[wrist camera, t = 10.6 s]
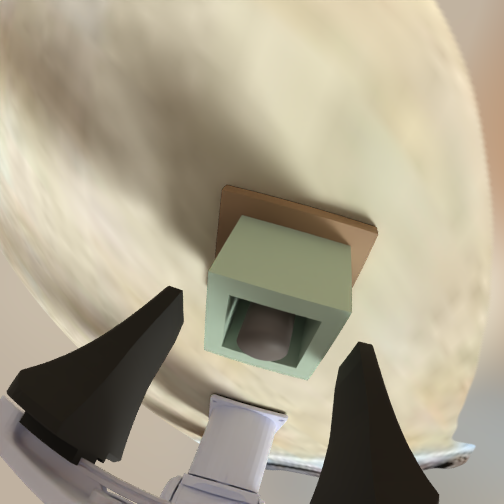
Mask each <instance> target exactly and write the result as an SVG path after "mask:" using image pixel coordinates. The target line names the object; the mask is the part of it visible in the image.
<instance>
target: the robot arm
mask: <svg viewBox="0 0 504 504" xmlns="http://www.w3.org/2000/svg"><path fill="white" fill-rule="evenodd" d="M183 322H184V316H183V290H180V289H177V288H174V287H171V286H168V287H166V288H165V289H164V290H163V291H161V292H160V293H159V294H158V295H157V296H155V297H154V298H153V299H152V300H150V301H149V302H148V303H147V304H145V305H144V306H143V307H142V308H140V309H139V310H138V311H136V312H135V313H134V314H132V315H131V316H130V317H129V318H127V319H126V320H124V321H123V322H122V323H120V324H119V325H117V326H116V327H114V328H113V329H111V330H110V331H108V332H107V333H105V334H104V335H102V336H100V337H99V338H97V339H95V340H94V341H92V342H90V343H88V344H87V345H85V346H83V347H81V348H79V349H77V350H75V351H73V352H71V353H68V354H66V355H64V356H61V357H59V358H57V359H54V360H52V361H49V362H46V363H43V364H40V365H37V366H33V367H30V368H27V369H23V370H21V371H20V372H19V373H18V375H17V376H16V378H15V379H14V381H13V382H12V384H11V385H10V387H9V389H8V390H7V394H8V395H9V396H10V397H11V398H12V399H13V400H14V401H15V402H16V403H17V404H18V405H19V406H20V407H22V408H23V409H24V410H25V413H24V412H23V411H21V410H20V409H19V408H18V407H16V406H15V405H14V404H13V403H12V402H11V401H10V400H9V399H8V398H6V397H5V396H2V397H1V399H0V456H1V457H2V458H3V460H4V461H5V462H6V463H7V464H8V465H9V467H10V468H11V469H12V470H13V471H14V472H15V473H16V474H17V475H18V477H19V478H20V479H21V480H22V481H23V482H24V483H25V484H26V485H27V486H28V488H29V489H30V490H31V491H32V492H33V493H34V494H35V495H36V496H37V497H38V498H39V499H40V500H41V501H42V502H44V503H45V504H134V503H132V502H130V501H129V500H131V501H133V502H135V503H137V504H266V503H265V501H264V500H262V499H259V497H260V494H257V493H258V490H259V487H260V484H261V480H262V477H263V474H264V470H265V467H266V464H267V460H268V456H269V453H270V449H271V446H272V442H273V438H274V434H275V433H276V432H277V431H278V430H279V429H280V428H281V426H282V425H283V424H284V423H285V422H286V421H287V419H288V416H287V415H285V414H281V413H277V412H273V411H269V410H265V409H261V408H258V407H254V406H251V405H247V404H244V403H240V402H237V401H234V400H231V399H227V398H224V397H221V396H218V395H215V394H213V395H211V398H210V409H209V421H208V424H207V426H206V429H205V432H204V434H203V437H202V439H201V442H200V444H199V447H198V450H197V452H196V454H195V457H194V459H193V462H192V464H191V467H190V469H189V472H188V474H186V473H184V475H183V477H181V476H176V477H174V478H171V479H170V480H169V481H168V483H167V484H166V486H165V488H164V489H163V491H162V494H161V495H160V497H157V496H155V495H152V494H150V493H148V492H146V491H144V490H141V489H139V488H137V487H135V486H133V485H131V484H129V483H127V482H125V481H123V480H121V479H119V478H117V477H115V476H114V475H112V474H110V473H108V472H106V471H105V470H103V469H101V468H99V467H98V466H96V465H94V464H95V462H96V460H98V461H100V462H102V463H104V461H105V459H106V458H107V459H108V460H110V461H112V462H117V461H120V460H121V458H122V454H123V451H124V448H125V445H126V442H127V439H128V436H129V433H130V430H131V428H132V425H133V422H134V420H135V417H136V415H137V412H138V410H139V407H140V405H141V403H142V400H143V398H144V396H145V394H146V391H147V389H148V387H149V386H150V384H151V382H152V380H153V378H154V377H155V375H156V373H157V372H158V370H159V368H160V367H161V365H162V363H163V362H164V360H165V358H166V356H167V355H168V353H169V351H170V350H171V348H172V346H173V345H174V343H175V341H176V338H177V336H178V334H179V332H180V329H181V327H182V325H183ZM106 488H108V489H110V490H112V491H114V492H116V493H117V494H119V495H121V496H123V497H125V498H127V499H129V500H127V499H125V498H123V497H121V496H118V495H116V494H113V493H110V492H108V491H107V489H106ZM310 504H439V494H438V492H437V491H436V490H435V488H434V487H433V486H432V484H431V483H430V482H429V480H428V479H427V477H426V476H425V474H424V473H423V471H422V469H421V468H420V466H419V464H418V463H417V461H416V459H415V457H414V455H413V453H412V452H411V450H410V448H409V446H408V444H407V442H406V440H405V438H404V435H403V433H402V431H401V429H400V426H399V424H398V421H397V419H396V416H395V413H394V411H393V408H392V405H391V402H390V399H389V396H388V393H387V390H386V387H385V384H384V381H383V378H382V375H381V371H380V368H379V365H378V362H377V358H376V355H375V352H374V348H373V346H372V345H371V344H367V343H363V342H358V343H357V344H356V346H355V347H354V348H353V350H352V351H351V353H350V354H349V355H348V356H347V358H346V359H345V360H344V362H343V363H342V364H341V366H340V367H339V370H338V375H337V380H336V386H335V392H334V403H333V413H332V423H331V432H330V439H329V445H328V449H327V453H326V457H325V460H324V464H323V467H322V471H321V474H320V477H319V481H318V483H317V486H316V489H315V492H314V494H313V497H312V499H311V502H310Z"/></svg>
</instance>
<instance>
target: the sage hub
mask: <svg viewBox="0 0 504 504" xmlns="http://www.w3.org/2000/svg"><path fill="white" fill-rule="evenodd" d="M250 302H254V303H258V304H261V305H264V306H268V307H271V308H275V309H278V310H282V311H285V312H289V313H292V314H296V317H295V322H294V326H293V331H292V336H291V340H290V345H289V349H288V353H287V355H286V356H285V357H284V358H282V359H280V360H277V361H263V360H258V359H255V358H252V357H250V356H248V355H247V354H245V353H244V352H243V351H242V350H241V349H240V348H239V347H238V345H237V337H238V334H239V331H240V329H241V326H242V323H243V321H244V318H245V315H246V313H247V310H248V307H249V305H250ZM351 313H352V270H351V246H349V245H346V244H342V243H339V242H336V241H332V240H329V239H325V238H322V237H319V236H315V235H312V234H308V233H305V232H301V231H298V230H294V229H291V228H287V227H284V226H280V225H277V224H273V223H269V222H266V221H262V220H258V219H255V218H251V217H247V216H244V215H242V216H241V217H240V219H239V221H238V222H237V224H236V226H235V227H234V229H233V231H232V232H231V234H230V236H229V237H228V239H227V241H226V242H225V244H224V246H223V247H222V249H221V251H220V252H219V254H218V256H217V257H216V259H215V261H214V263H213V264H212V266H211V268H210V269H209V271H208V284H207V299H206V317H205V338H204V350H206V351H209V352H212V353H215V354H217V355H220V356H224V357H227V358H230V359H233V360H236V361H239V362H242V363H246V364H249V365H252V366H256V367H259V368H263V369H266V370H270V371H273V372H277V373H281V374H284V375H288V376H292V377H296V378H300V379H304V380H308V379H309V378H310V376H311V375H312V374H313V372H314V371H315V369H316V368H317V366H318V365H319V363H320V362H321V361H322V359H323V358H324V356H325V355H326V353H327V352H328V350H329V348H330V347H331V345H332V344H333V342H334V341H335V339H336V338H337V336H338V334H339V333H340V331H341V330H342V328H343V326H344V325H345V323H346V321H347V320H348V318H349V317H350V315H351Z"/></svg>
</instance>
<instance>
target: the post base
mask: <svg viewBox="0 0 504 504" xmlns="http://www.w3.org/2000/svg"><path fill="white" fill-rule="evenodd" d="M242 215H244V216H247V217H251V218H255V219H258V220H262V221H266V222H269V223H273V224H277V225H280V226H284V227H287V228H291V229H294V230H298V231H301V232H305V233H308V234H312V235H315V236H319V237H322V238H325V239H329V240H332V241H336V242H339V243H342V244H346V245H349V246H351V270H352V287H353V285H354V283H355V281H356V280H357V278H358V276H359V274H360V272H361V270H362V268H363V266H364V264H365V261H366V259H367V257H368V255H369V253H370V251H371V249H372V247H373V245H374V243H375V240H376V238H377V236H378V231H377V227H374V226H371V225H368V224H365V223H362V222H359V221H356V220H352V219H349V218H346V217H343V216H340V215H336V214H333V213H330V212H326V211H323V210H319V209H316V208H313V207H309V206H306V205H302V204H299V203H295V202H291V201H288V200H284V199H280V198H277V197H273V196H269V195H265V194H261V193H258V192H254V191H250V190H246V189H242V188H238V187H233V186H229V185H226V186H225V187H224V188H223V189H222V194H221V203H220V213H219V222H218V232H217V242H216V253H215V259H216V257H217V256H218V254H219V252H220V251H221V249H222V247H223V246H224V244H225V242H226V241H227V239H228V237H229V236H230V234H231V232H232V231H233V229H234V227H235V226H236V224H237V222H238V221H239V219H240V217H241V216H242ZM295 317H296V314H292V313H289V312H285V311H282V310H278V309H275V308H271V307H268V306H264V305H261V304H258V303H254V302H250V305H249V307H248V310H247V313H246V315H245V318H244V321H243V323H242V326H241V329H240V331H239V334H238V337H237V345H238V347H239V348H240V349H241V350H242V351H243V352H244V353H245V354H247V355H248V356H250V357H252V358H255V359H258V360H263V361H277V360H280V359H282V358H284V357H285V356H286V355H287V353H288V349H289V345H290V340H291V336H292V331H293V326H294V322H295Z"/></svg>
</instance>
